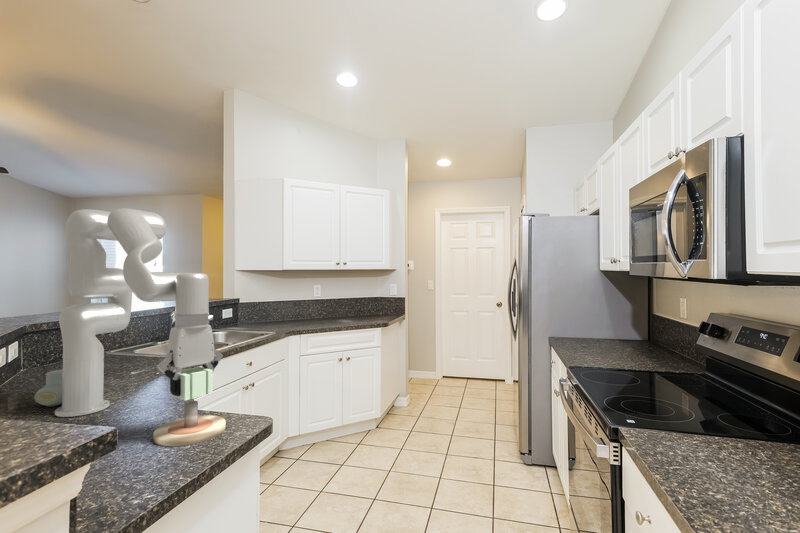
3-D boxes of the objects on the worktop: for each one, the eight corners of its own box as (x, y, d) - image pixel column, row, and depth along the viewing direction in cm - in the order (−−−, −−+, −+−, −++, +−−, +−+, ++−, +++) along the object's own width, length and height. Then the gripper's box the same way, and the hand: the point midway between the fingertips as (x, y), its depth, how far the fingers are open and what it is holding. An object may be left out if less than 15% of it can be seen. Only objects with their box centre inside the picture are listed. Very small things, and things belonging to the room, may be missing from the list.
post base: (141, 436, 95) (141, 405, 95) (204, 416, 108) (204, 389, 109) (173, 452, 86) (174, 418, 86) (238, 428, 100) (238, 399, 100)
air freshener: (28, 408, 117) (28, 374, 117) (53, 399, 125) (53, 368, 125) (64, 407, 116) (64, 374, 117) (86, 398, 125) (86, 367, 125)
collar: (170, 396, 97) (170, 372, 97) (198, 389, 102) (198, 366, 103) (184, 400, 93) (185, 375, 93) (212, 393, 99) (212, 369, 99)
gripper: (216, 317, 107) (216, 381, 107) (147, 323, 93) (147, 397, 93) (232, 318, 103) (231, 385, 103) (162, 325, 89) (162, 403, 88)
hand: (191, 390), depth 98 cm, fingers closed on collar, 7 cm apart
